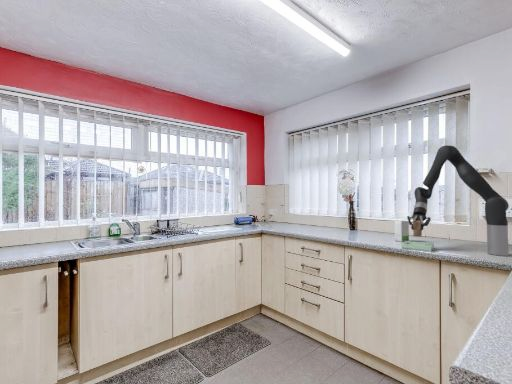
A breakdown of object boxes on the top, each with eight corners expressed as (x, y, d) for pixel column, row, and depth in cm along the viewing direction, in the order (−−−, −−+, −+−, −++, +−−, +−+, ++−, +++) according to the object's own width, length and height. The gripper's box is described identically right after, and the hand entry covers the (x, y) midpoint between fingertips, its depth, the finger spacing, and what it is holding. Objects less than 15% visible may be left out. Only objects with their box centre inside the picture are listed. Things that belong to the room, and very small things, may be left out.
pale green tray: (434, 248, 177) (433, 243, 177) (430, 251, 166) (430, 246, 166) (406, 245, 187) (406, 241, 187) (401, 248, 177) (401, 243, 177)
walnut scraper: (421, 236, 177) (421, 220, 177) (420, 236, 174) (420, 221, 174) (414, 235, 180) (414, 220, 180) (413, 236, 177) (413, 220, 177)
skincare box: (401, 242, 202) (401, 221, 202) (394, 240, 208) (393, 220, 209) (409, 241, 205) (409, 220, 206) (401, 240, 211) (401, 220, 212)
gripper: (407, 206, 188) (403, 225, 178) (431, 206, 178) (429, 226, 169) (409, 213, 192) (405, 232, 182) (433, 214, 182) (430, 234, 173)
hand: (416, 229), depth 176 cm, fingers closed on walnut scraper, 4 cm apart
